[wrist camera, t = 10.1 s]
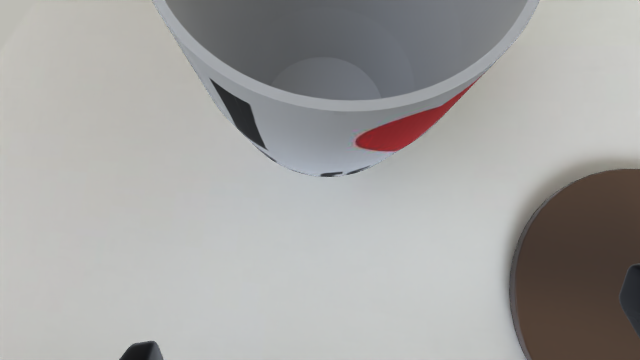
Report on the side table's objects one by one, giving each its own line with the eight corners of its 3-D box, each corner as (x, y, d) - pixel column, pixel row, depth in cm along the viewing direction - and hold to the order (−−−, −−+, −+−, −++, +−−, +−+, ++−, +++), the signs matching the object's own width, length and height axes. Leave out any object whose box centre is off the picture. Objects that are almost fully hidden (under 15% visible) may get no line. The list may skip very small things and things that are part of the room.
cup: (213, 209, 18) (106, 102, 8) (228, 17, 20) (157, -252, 10) (427, 215, 18) (571, 119, 8) (422, 25, 20) (533, -231, 10)
